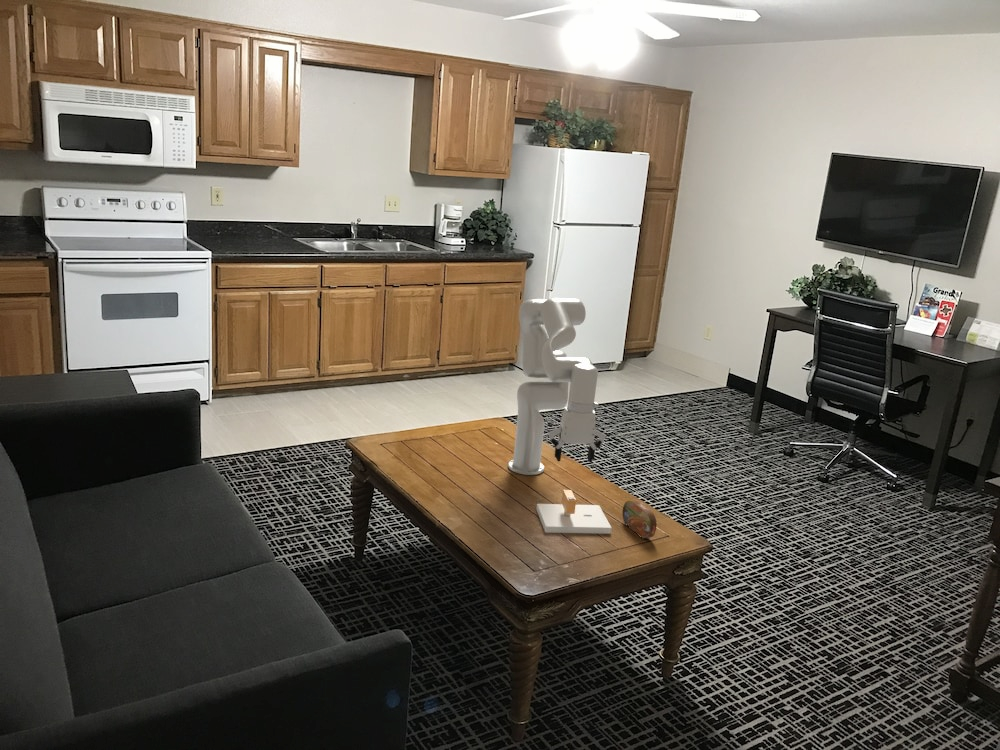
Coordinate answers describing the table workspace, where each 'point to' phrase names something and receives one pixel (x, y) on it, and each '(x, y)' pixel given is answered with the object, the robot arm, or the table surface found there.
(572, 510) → the orange block on post
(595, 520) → the base plate
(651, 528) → the tin
